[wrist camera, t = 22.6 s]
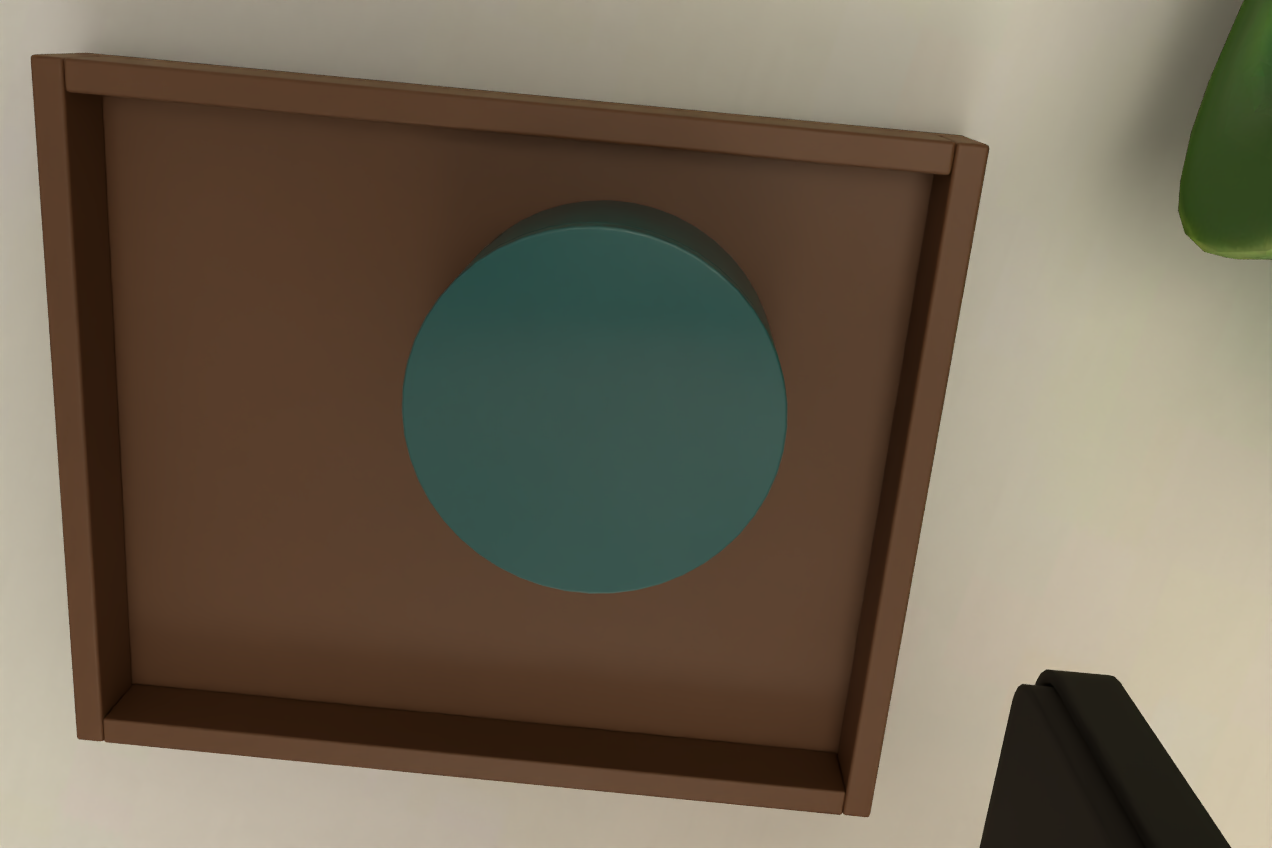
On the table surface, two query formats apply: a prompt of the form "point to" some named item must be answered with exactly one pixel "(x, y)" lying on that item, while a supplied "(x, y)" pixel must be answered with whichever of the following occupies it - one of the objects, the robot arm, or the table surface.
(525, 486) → the jar lid
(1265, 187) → the piggy bank
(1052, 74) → the table surface
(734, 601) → the tray
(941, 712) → the table surface
